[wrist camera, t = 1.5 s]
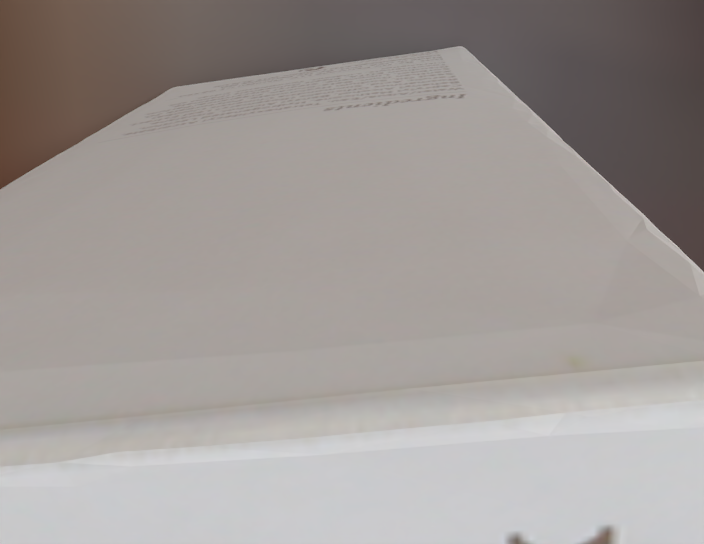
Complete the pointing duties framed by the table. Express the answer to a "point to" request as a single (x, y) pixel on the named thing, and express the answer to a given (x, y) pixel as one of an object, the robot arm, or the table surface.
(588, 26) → the table surface
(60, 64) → the table surface
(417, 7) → the table surface
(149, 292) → the small box
